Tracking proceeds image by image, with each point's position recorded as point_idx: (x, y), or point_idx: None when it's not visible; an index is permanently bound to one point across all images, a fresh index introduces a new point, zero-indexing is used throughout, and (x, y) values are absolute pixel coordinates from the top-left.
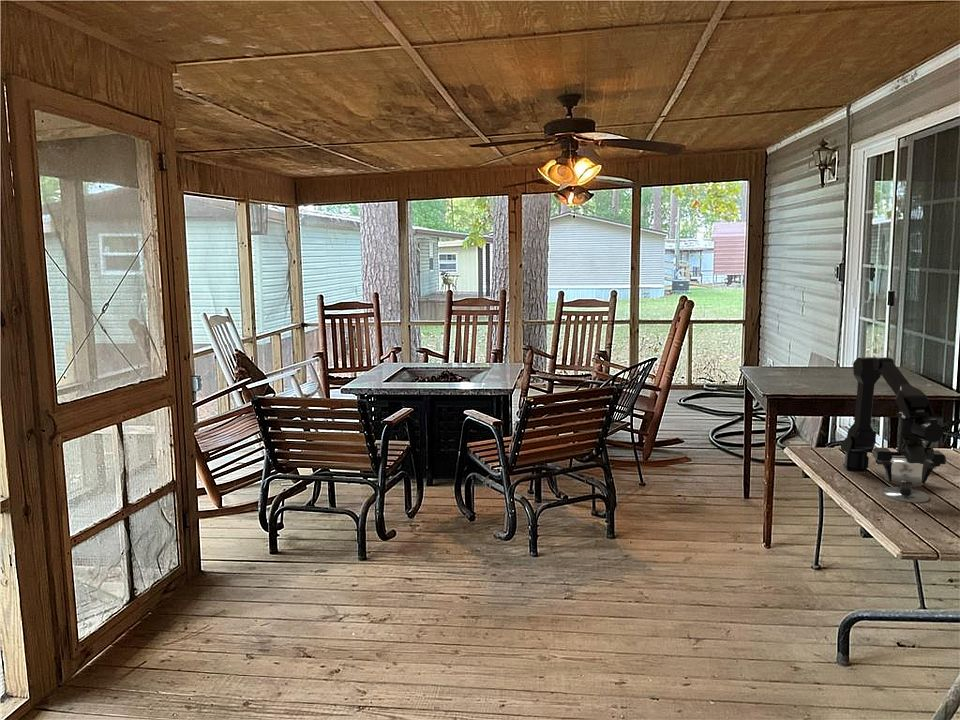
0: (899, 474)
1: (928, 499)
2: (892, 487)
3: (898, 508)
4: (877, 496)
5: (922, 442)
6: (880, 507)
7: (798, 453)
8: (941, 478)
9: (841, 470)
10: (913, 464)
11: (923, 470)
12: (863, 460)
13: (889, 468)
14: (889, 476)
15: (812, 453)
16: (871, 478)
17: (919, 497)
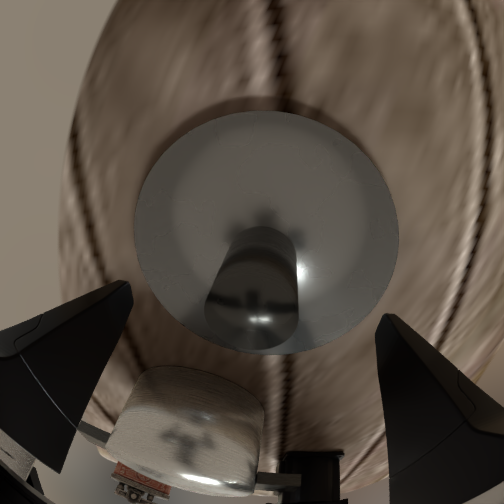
0: (224, 425)
1: (149, 177)
2: (292, 347)
3: (407, 11)
4: (442, 220)
5: (120, 494)
6: (485, 46)
7: (373, 480)
8: (96, 397)
9: (359, 449)
10: (149, 457)
11: (79, 383)
12: None
13: (471, 401)
14: (421, 340)
15: (345, 485)
16: (309, 423)
17: (196, 187)
